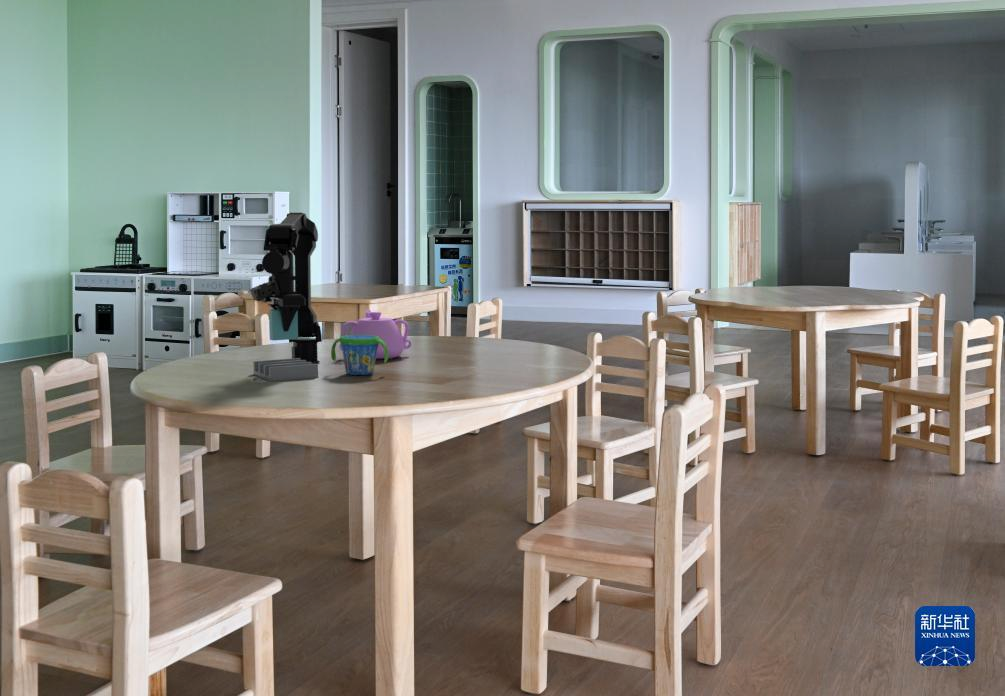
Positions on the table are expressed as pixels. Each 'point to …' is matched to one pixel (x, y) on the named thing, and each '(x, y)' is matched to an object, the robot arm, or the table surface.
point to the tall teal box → (277, 326)
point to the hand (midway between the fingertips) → (284, 330)
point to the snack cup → (359, 353)
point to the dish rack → (285, 369)
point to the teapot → (381, 333)
